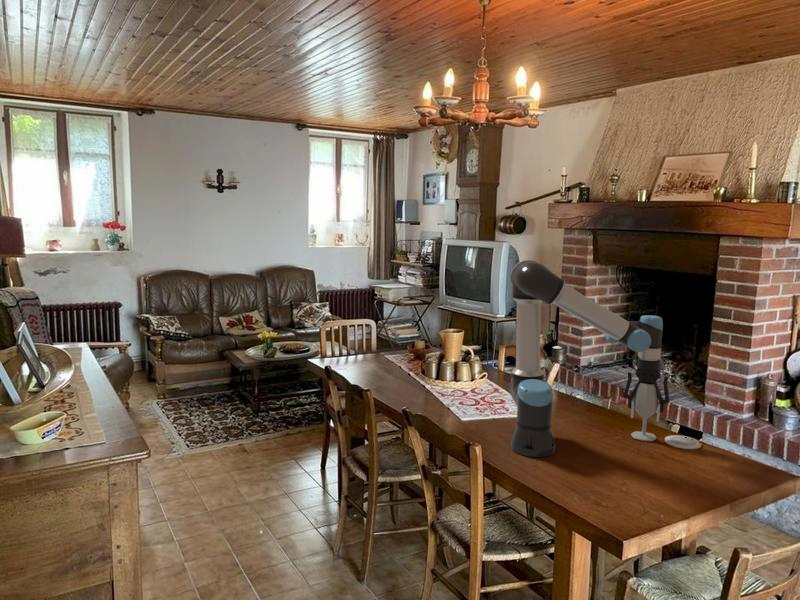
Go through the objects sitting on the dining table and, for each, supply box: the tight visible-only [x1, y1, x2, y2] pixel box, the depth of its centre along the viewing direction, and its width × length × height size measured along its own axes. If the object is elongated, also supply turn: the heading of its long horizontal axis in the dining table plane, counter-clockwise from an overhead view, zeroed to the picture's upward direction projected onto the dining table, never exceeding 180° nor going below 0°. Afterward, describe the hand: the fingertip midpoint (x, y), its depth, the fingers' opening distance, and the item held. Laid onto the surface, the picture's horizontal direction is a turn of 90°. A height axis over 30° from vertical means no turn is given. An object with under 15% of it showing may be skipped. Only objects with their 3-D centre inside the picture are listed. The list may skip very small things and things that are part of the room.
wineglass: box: [630, 383, 659, 442], centre depth 219 cm, size 9×9×21 cm
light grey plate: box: [664, 434, 702, 450], centre depth 215 cm, size 12×12×1 cm
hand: (644, 418), depth 219 cm, fingers closed on wineglass, 8 cm apart
